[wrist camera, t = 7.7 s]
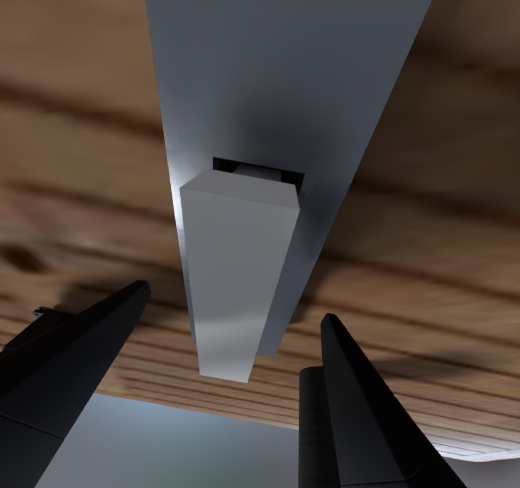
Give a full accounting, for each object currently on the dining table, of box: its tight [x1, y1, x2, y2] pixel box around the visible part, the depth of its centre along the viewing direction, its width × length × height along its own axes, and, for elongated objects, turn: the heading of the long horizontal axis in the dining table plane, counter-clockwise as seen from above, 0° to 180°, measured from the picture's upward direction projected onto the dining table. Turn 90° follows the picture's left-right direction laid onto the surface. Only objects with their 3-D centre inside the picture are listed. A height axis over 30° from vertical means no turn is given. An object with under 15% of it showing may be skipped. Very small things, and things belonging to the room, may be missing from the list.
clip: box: [179, 163, 300, 383], centre depth 11 cm, size 12×3×7 cm, turn 171°
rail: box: [146, 0, 432, 357], centre depth 12 cm, size 22×8×3 cm, turn 171°
